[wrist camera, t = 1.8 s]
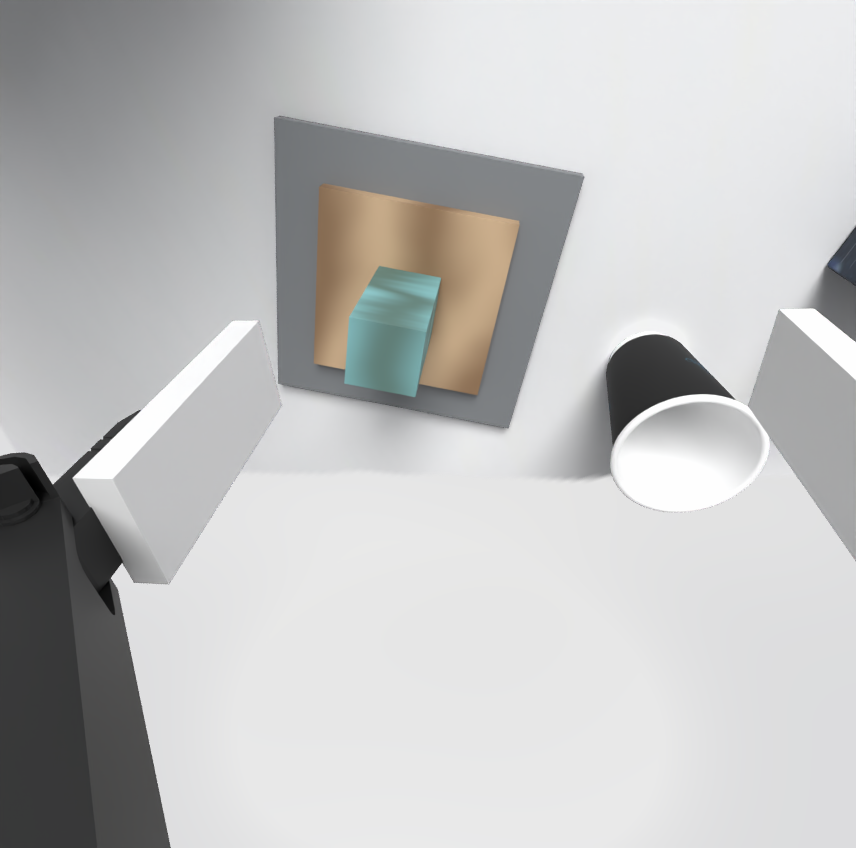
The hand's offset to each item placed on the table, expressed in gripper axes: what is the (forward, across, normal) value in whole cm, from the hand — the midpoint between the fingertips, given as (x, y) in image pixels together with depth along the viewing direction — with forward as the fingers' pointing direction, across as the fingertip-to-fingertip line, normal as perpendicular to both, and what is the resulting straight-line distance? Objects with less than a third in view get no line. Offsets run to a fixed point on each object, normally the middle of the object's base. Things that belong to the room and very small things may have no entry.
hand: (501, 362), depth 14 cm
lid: (+21, -6, -6) cm, 23 cm away
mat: (+22, -6, -6) cm, 24 cm away
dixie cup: (+22, +10, -12) cm, 27 cm away
